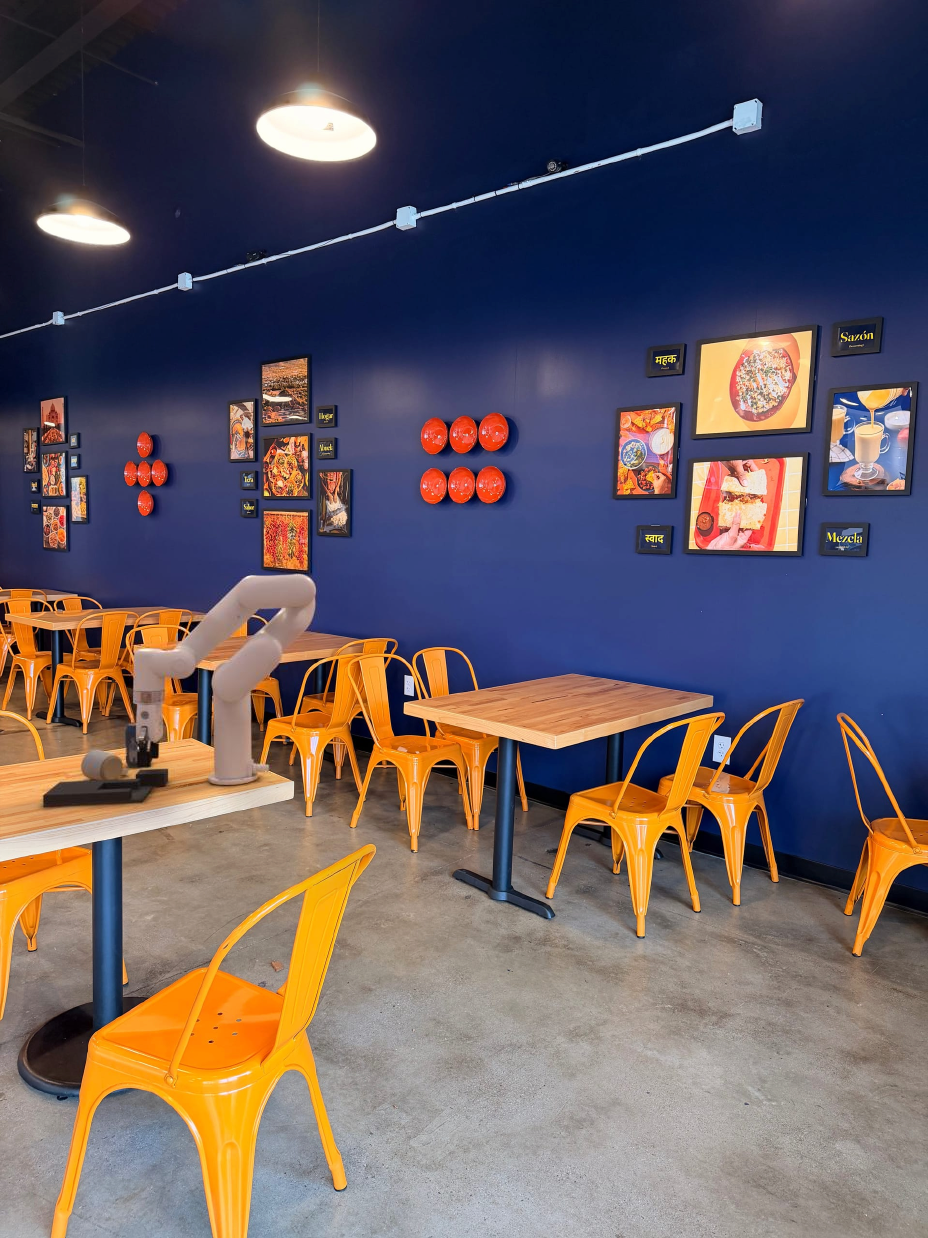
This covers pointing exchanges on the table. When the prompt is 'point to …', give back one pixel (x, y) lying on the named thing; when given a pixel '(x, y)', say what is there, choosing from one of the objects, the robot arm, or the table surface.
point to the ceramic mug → (102, 766)
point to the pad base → (96, 792)
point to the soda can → (131, 745)
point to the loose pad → (153, 777)
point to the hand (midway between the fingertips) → (148, 762)
